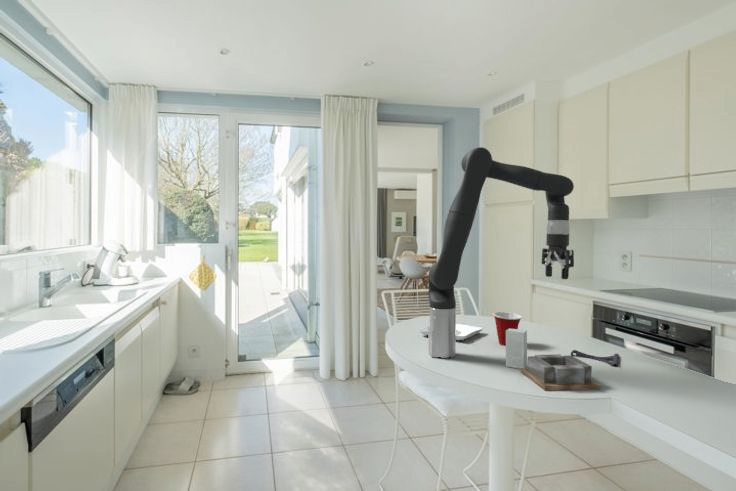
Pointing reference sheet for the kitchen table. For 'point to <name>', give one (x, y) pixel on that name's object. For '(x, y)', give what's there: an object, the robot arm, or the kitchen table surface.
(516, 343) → the skincare box
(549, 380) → the holder
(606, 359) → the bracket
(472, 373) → the kitchen table surface
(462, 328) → the salad plate
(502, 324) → the plastic cup
